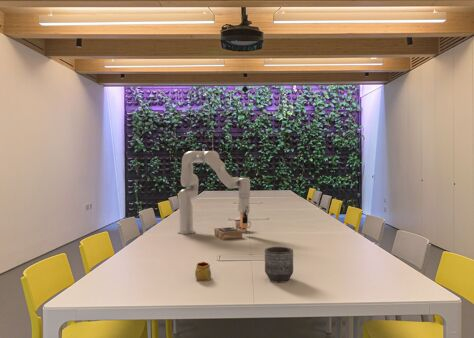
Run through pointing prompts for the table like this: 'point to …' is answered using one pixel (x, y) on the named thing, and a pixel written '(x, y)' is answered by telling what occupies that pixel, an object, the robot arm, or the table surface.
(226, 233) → the oak box
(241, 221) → the block
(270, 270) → the planter
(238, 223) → the teacup with lid
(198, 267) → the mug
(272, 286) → the table surface
